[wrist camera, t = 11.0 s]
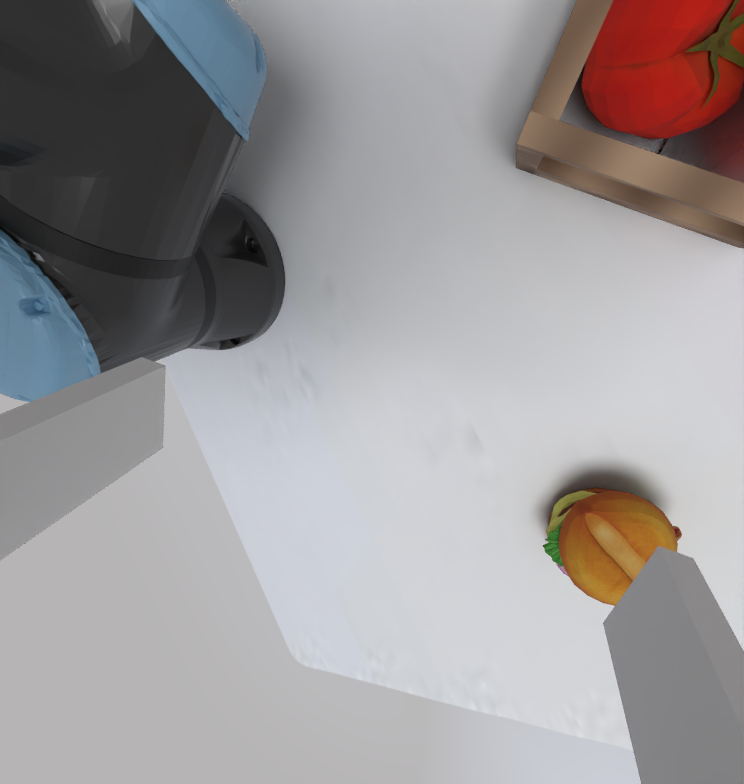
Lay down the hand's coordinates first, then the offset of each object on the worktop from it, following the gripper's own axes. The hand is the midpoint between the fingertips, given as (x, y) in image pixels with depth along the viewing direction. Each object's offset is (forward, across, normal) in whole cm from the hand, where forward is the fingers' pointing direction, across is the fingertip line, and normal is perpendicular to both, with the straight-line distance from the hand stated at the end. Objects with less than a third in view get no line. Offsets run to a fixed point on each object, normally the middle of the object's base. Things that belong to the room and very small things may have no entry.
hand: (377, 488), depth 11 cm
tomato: (+28, +4, +18) cm, 33 cm away
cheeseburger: (+30, +19, -17) cm, 39 cm away
